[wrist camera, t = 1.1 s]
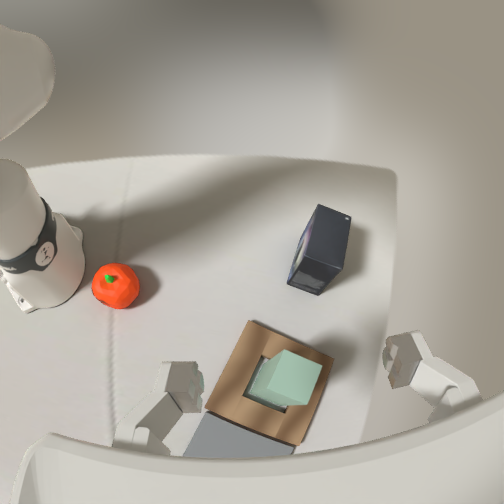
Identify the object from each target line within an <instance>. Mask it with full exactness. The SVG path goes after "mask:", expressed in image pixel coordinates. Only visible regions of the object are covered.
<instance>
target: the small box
mask: <svg viewBox="0 0 504 504" xmlns="http://www.w3.org/2000/svg"><path fill="white" fill-rule="evenodd" d="M350 224H351V216H348V215H346V214H343V213H341V212H338V211H336V210H333V209H331V208H328V207H325V206H323V205H320V204H318V205H317V207H316V209H315V211H314V213H313V215H312V217H311V219H310V221H309V223H308V224H307V226H306V228H305V230H304V232H303V234H302V236H301V238H300V241H299V244H298V248H297V251H296V254H295V257H294V260H293V264H292V267H291V270H290V273H289V277H288V280H287V284H288V285H290V286H293V287H296V288H298V289H301V290H304V291H306V292H309V293H312V294H314V295H317V296H318V295H320V293H321V292H322V291H323V290H324V289H325V287H326V286H327V285H328V284H329V283H330V282H331V281H332V280H333V278H334V277H335V276H336V275H337V274H338V273H339V272H340V271H341V270H342V269H343V265H344V259H345V254H346V248H347V242H348V236H349V230H350Z"/></svg>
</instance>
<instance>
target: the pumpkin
mask: <svg viewBox="0 0 504 504" xmlns="http://www.w3.org/2000/svg"><path fill="white" fill-rule="evenodd" d="M139 289H140V285H139V280H138V278H137V276H136V275H135V273H134V271H133V270H132V269H131V268H130V267H129V266H128V265H125V264H120V263H110V264H107V265H104V266H102V267H100V269H99V270H98V271H97V272H96V274H95V276H94V278H93V282H92V292H93V295H94V296H95V297H96V299H98V300H99V301H100V302H101V303H103V304H105V305H107V306H109V307H112V308H115V309H123V308H125V307H128V306H129V305H130V304H131V303H132V302H133V301H134V300H135V298H136V297H137V296H138V294H139Z"/></svg>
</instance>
